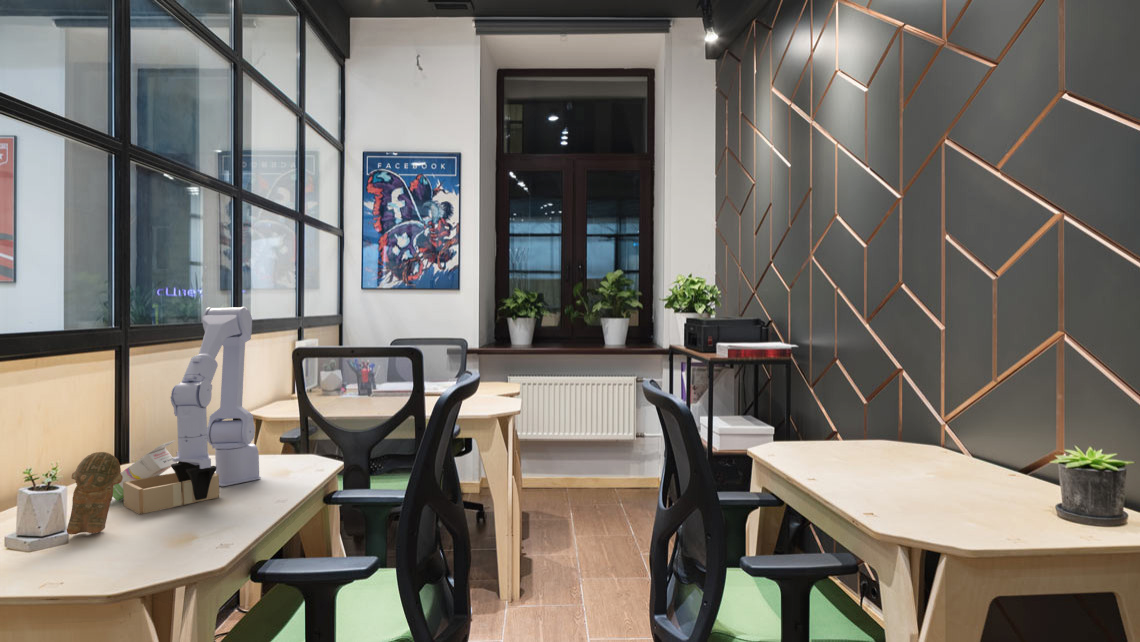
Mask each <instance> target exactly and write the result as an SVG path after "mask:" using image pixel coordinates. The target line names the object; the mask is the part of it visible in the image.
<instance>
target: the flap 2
mask: <svg viewBox="0 0 1140 642" xmlns="http://www.w3.org/2000/svg"><path fill="white" fill-rule="evenodd" d="M218 498H219V497H218V475H214V476H213V477H212V479H211V482H210V485H209V490H208V494H207V498H205V499H201V500H195V497H194V493H193V486H192V482H191V480H188V481H183V482H182V501H183V505H182V506H185V504H186V505H189V504H190V505H191V504H195V503H198V502H203V501H208V499H209V500H212V499H218ZM194 502H195V503H194Z"/></svg>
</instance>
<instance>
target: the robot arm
mask: <svg viewBox="0 0 1140 642" xmlns="http://www.w3.org/2000/svg"><path fill="white" fill-rule="evenodd" d="M202 327H203V330H204V335H203V338H202V342H201V345H200V348H199V351H198V354H196V355H194V356H193V357H191V359H190V361H189V363H188V366H187V368H186V370H185V372H184V375H183V377H182V380H181V382H179V383H177V384H175V385H174V386H173V388H172V390H171V393H170V394H171V395H170V403H171V405H172V407H173V414H174V416H175V417H176V421H177V422H176V423H177V424H176V425H177V452H176V456H175V457H173V458H172V461H174V462H177V463H175V464H171V467H170V468H172V470H173V473H176V475H177V478H178V481H179V482H181V491H182V482H183V481H188V480H191V482H192V486H193V493H194V497H195V500H201V499H205V498H207V494H208V490H209V485H210V482H211V479H212V477H213V474H214V473H216V474H219V487H226V486H227V487H228V486H233V485H238V484H243V483H246V482H252V481H257V480H260V479H261V476H260V454H259V453H260V452H259V449H258V447H257V445H256V444H255V443H252V442H253V441H254V439H255V434H256V433H255V432H256V429H255V422H254V414H252V413H251V412H250V411H249V410H247V409H246V408H245V407H243V393H244V392H243V391H244V372H245V357H246V356H245V355H246V353H245V351H246V343H247V342H249V341H250V340H251V339H252V334H253V333H252V332H253V331H252V330H253V317H252V315H251V311H250V310H249V309H248V308H247V307H246V306H241V307H207V308H206V309H205V310H204V311H203V314H202ZM222 347H223V348H222ZM221 348H222V349H223V350H222V365H221V367H222V369H221V383H220V387H221V388H220V406H219V408H218V409H217V410H215V411H213V413H211V414H210V416H209V419H207V418H208V417H207V414H208V412H207V407H208V406H209V404H210V403H211V402H212V401H211V400H212V390H213V385H212V384H213V383H212V382H213V379H214V377H215V374H216V372H217V369H218V366H219V365H218V362H217V360H216V358H217V356H218V354H219V352H220V350H221ZM234 419H236V420H234ZM207 420H208V421H207ZM208 443H209V446H211V447H212V449H214V451H215V452H214V453H215V455H214V456H215V459H214V460H215V465H212V459H211V458H210V454H209V451H208V450H209V449H208V448H209V447H208Z"/></svg>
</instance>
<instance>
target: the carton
mask: <svg viewBox="0 0 1140 642" xmlns="http://www.w3.org/2000/svg"><path fill="white" fill-rule="evenodd" d="M214 475H218V498H220V486H219V474H216V472H215V473H214V474H213V476H214ZM178 482H179V481H178V478H177V475H176V473H175V472H171V473H165V474H160V475H159V476H153V477H148V478H142V479H137V480H131V481H126V482H123V497H124V498H123V507H125V508H127V509H128V510H130V511H132V512H134V513H136V514H138V515H144V514H145V513H143V490H142V489H146V488H151V487H157V486H162V485H167V484H172V483H178ZM208 500H210V499H208ZM208 500H207V501H208ZM195 503H196V502H194V503H193V504H195ZM185 505H187V504H185ZM185 505H183V501H182V505H181V506H185ZM171 508H173V507H171ZM171 508H170V509H171ZM162 510H164V509H162ZM162 510H161V511H162ZM157 512H159V510H157ZM148 513H150V512H148ZM148 513H147V514H148Z"/></svg>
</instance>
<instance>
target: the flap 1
mask: <svg viewBox="0 0 1140 642" xmlns="http://www.w3.org/2000/svg"><path fill="white" fill-rule="evenodd" d="M142 490H143V513H144V514H148V512H149V513H153V512H156V511H157V510H158V511H162V509H163V510H166V509H167V510H168V509H171V507H172V508H175V507H176V508H177V507H180V506H183V505H182V491H181V482H178V483H172V484H167V485H162V486H157V487H151V488H146V489H142ZM158 511H157V512H158Z"/></svg>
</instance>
